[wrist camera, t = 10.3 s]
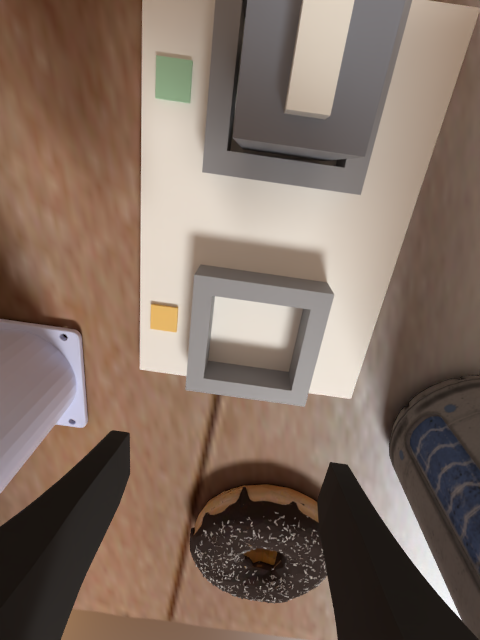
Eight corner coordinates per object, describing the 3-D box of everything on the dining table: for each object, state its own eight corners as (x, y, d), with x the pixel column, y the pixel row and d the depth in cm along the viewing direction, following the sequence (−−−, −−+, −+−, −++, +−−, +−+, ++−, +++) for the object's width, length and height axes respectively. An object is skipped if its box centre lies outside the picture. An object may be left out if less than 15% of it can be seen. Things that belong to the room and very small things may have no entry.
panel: (143, 362, 23) (129, 387, 20) (148, -32, 14) (124, -75, 12) (347, 391, 23) (359, 419, 20) (469, 16, 15) (514, -17, 12)
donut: (313, 569, 32) (320, 621, 28) (189, 550, 31) (179, 600, 28) (345, 487, 27) (359, 537, 23) (200, 465, 27) (190, 512, 23)
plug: (242, 149, 16) (230, 135, 9) (255, 48, 15) (251, -64, 8) (323, 160, 16) (373, 155, 9) (345, 60, 15) (424, -38, 8)
